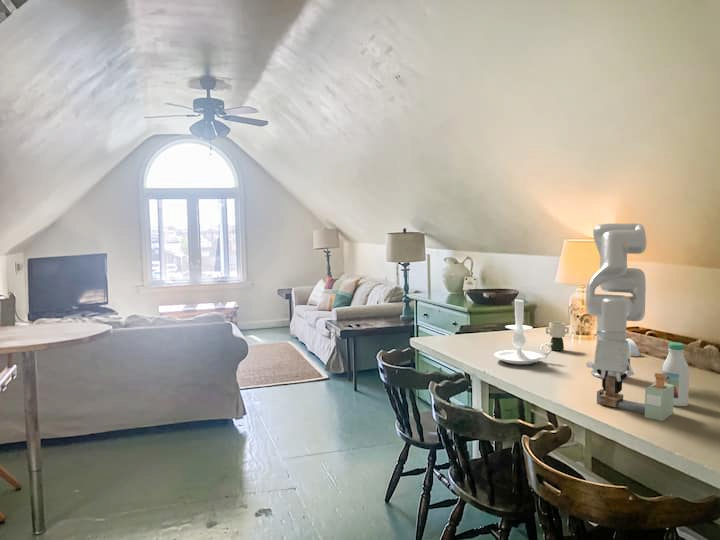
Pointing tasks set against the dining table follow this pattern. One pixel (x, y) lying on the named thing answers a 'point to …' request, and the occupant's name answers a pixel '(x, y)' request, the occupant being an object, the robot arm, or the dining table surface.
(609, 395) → the carriage
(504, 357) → the candlestick
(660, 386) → the gauge plunger
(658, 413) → the cabinet
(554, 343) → the character mug
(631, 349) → the white arch
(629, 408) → the rail
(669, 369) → the milk bottle
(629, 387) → the dining table surface
